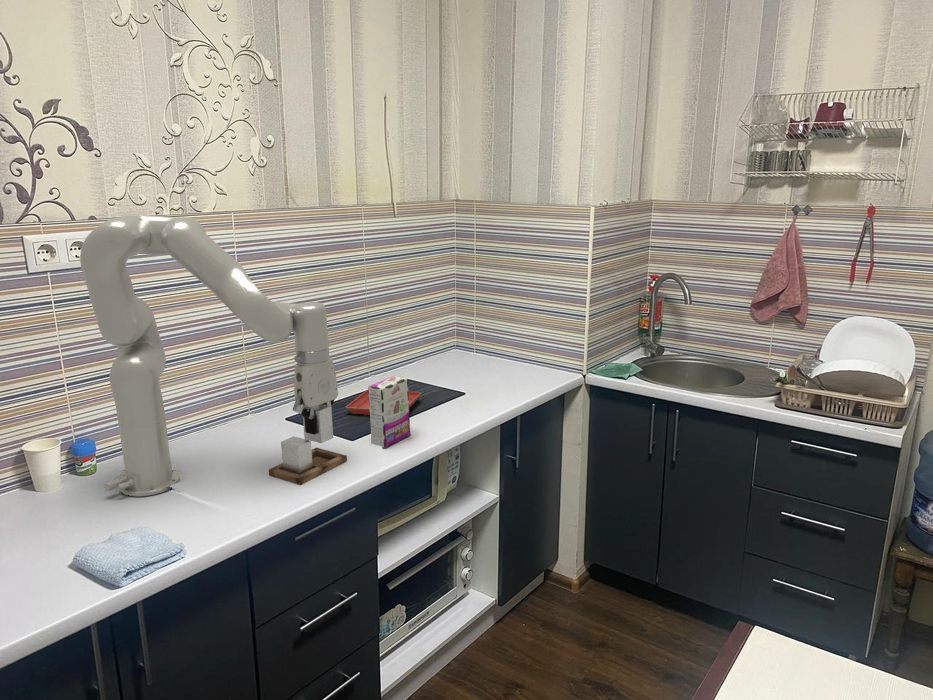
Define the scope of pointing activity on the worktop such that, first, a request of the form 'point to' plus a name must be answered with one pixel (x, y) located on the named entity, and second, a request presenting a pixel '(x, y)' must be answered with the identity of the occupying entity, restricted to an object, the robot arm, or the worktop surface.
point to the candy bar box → (389, 411)
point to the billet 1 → (296, 455)
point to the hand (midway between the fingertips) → (318, 429)
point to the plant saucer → (362, 403)
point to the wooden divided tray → (321, 465)
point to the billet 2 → (321, 424)
